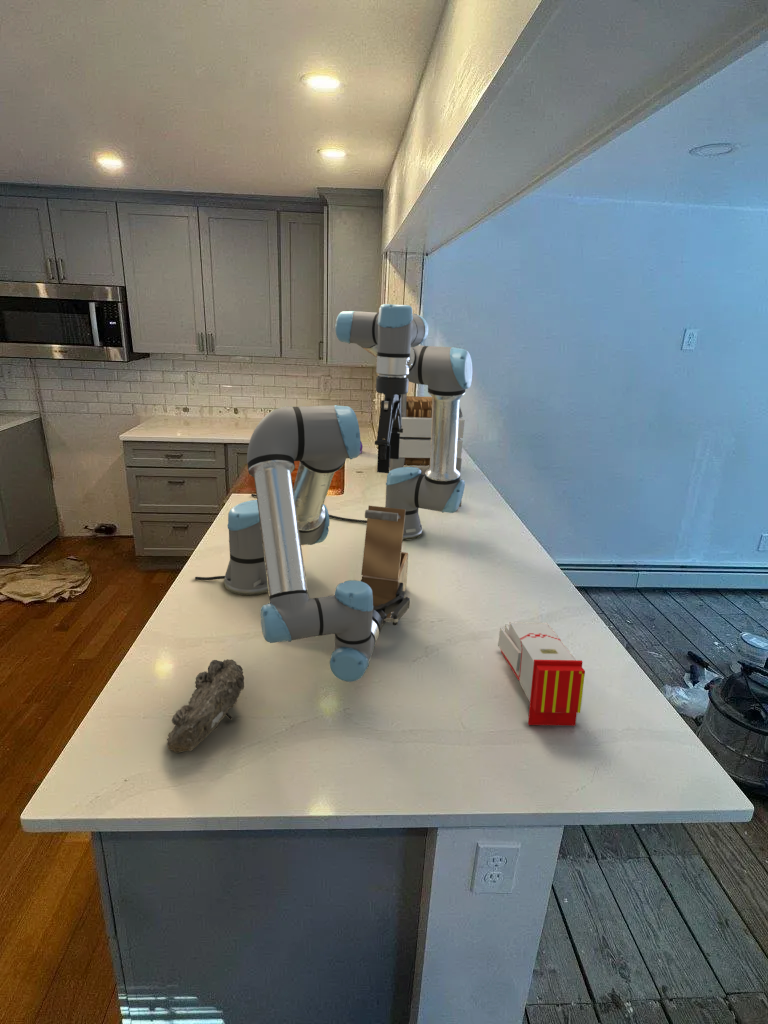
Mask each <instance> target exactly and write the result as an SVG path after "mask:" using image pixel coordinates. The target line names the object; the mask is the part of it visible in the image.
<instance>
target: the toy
mask: <svg viewBox="0 0 768 1024" xmlns="http://www.w3.org/2000/svg"><path fill="white" fill-rule="evenodd" d="M498 636H499V637H498V642H497V646H498V647H499V649H500V653H501V654H502V656H503V657H504V659H505V661H506V663H507V664H508V665H509V667H510V669H511V671H512V672H513V674H514V676H515V677H516V679H517V680H518V681H519V684H520V686H521V688H522V690H523V692H524V694H525V696H526V698H527V700H528V701H529V710H528V719H527V724H528V726H573V727H575V726H576V724H577V723H576V722H577V715H578V714H581V710H582V709H581V708H582V701H583V692H584V683H585V674H586V670H585V669H584V668H583V662H584V661H583V660H581V659H580V660H578V659H576V657H575V656H574V655H573V654H572V653H571V651H570V650H569V648H568V647H567V645H565V644H564V642H563V641H562V640H561V638H560V637H559V636H558V635H557V633H556V631H555V630H554V629H553V628H552V627H551V626H550V624H549V622H527V621H526V622H525V621H523V622H521V621H509V624H504V628H503V627H500V628H499V634H498Z"/></svg>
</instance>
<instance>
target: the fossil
mask: <svg viewBox="0 0 768 1024" xmlns="http://www.w3.org/2000/svg"><path fill="white" fill-rule="evenodd" d="M243 670H244V669H243V667H242V665H240V664H237V662H236V661H235V660H234V659H232V658H231V659H227V658H226V659H224V660H223V661H222V660H217V659H212V660H211V661H210V663H209V665H208V666H207V671H201V672H199V673H198V674H197V675H196V676H195V680H194V684H195V685H194V687H195V689H194V690H193V693H192V694H191V697H190V698H189V700H188V704H184V705H182V706H181V707H180V709H177V710H176V711H175V713H174V715H173V716H172V718H171V723H172V724H173V727H172V730H171V731H170V732H168V734H167V738H166V741H167V742H166V745H167V749H168V750H169V751H173V752H174V753H176V754H178V753H182V752H188V751H189V752H192V751H193V750H195V748H196V747H197V746H199V744H200V743H201V742H203V741H204V740H205V739H206V738H207V737H208V736H209V735H210V734H211V733H212V732H214V730H215V729H217V727H218V726H219V724H220V722H221V721H222V720H223V719H224V718H225V716H226V717H227V719H229V720H233V717H232V715H230V714H229V710H230V709H231V708H234V706H235V704H236V703H237V702H238V699H239V697H240V695H241V693H242V691H243V690H245V689H244V688H245V675H244V671H243Z"/></svg>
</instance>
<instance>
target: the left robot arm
mask: <svg viewBox="0 0 768 1024" xmlns="http://www.w3.org/2000/svg"><path fill="white" fill-rule="evenodd" d="M360 441H361V430H360V425H359V421H358V416H357V414H356V412H355V411H354V409H353V408H352V407H350V406H349V405H337V404H334V405H305V406H303V405H302V406H301V405H299V406H289V405H288V406H287V405H286V406H281V407H277V408H275V409H273V410H272V411H269V412H268V413H267V414H266V415H265V416H263V417H262V419H260V421H259V423H258V424H257V425H256V427H255V428H254V430H253V432H252V433H251V437H250V439H249V443H248V447H247V452H246V462H247V473H248V475H250V476H251V477H252V478H253V479H254V487H255V494H256V496H257V497H256V499H251V500H247V501H242V502H240V503H238V504H235V505H234V506H233V507H231V508H230V510H229V512H228V514H227V530H228V545H229V562H228V564H227V568H226V572H225V574H224V575H217V576H216V575H215V576H195V577H194V580H195V581H214V580H224V588H225V589H226V590H227V591H228V592H230V593H233V594H236V595H240V596H241V595H242V596H256V595H257V596H258V595H263V594H266V593H267V594H268V600H269V603H266V604H263V605H261V607H260V612H259V614H260V626H261V627H260V628H261V633H262V636H263V637H262V638H263V639H264V640H265V642H267V643H268V644H269V643H270V644H274V643H283V642H288V643H291V642H292V641H296V640H297V641H298V640H303V639H308V638H315V637H321V636H329V635H334V649H333V651H332V653H331V655H330V660H329V668H330V671H331V673H332V674H333V676H334V677H335V678H337V679H338V680H340V681H342V682H347V683H353V682H357V681H359V680H360V679H362V678H363V676H364V675H365V673H366V671H367V669H368V668H369V665H370V661H371V658H372V655H373V653H374V650H375V646H376V644H377V641H378V639H379V636H380V633H381V631H382V628H383V626H384V624H386V623H387V622H388V623H392V626H397V625H398V624H399V620H400V619H401V618H402V617H403V616H404V615H405V613H406V612H407V611H408V610H409V609H410V604H411V598H410V597H407V596H406V590H405V591H403V583H401V582H400V585H399V587H398V590H397V593H396V598H394V599H392V600H390V601H389V602H387V603H385V604H380V605H379V606H373V594H372V589H371V588H370V586H369V585H368V584H366V583H364V582H362V578H361V580H356V579H353V580H352V579H349V580H345V581H343V582H340V583H338V584H337V585H336V587H335V591H334V595H333V594H332V595H325V596H318V597H309V593H308V585H307V579H306V578H307V576H306V570H305V563H304V556H303V549H302V546H313V545H316V544H321V543H323V542H324V541H325V540H327V537H328V534H329V531H330V529H329V527H330V517H329V515H330V514H329V511H328V508H327V506H326V505H325V501H326V498H327V495H328V492H329V489H330V487H331V484H332V480H333V478H334V475H335V473H336V472H338V471H339V470H341V469H342V468H343V467H344V465H345V463H346V460H347V459H349V460H353V459H356V458H358V457H359V455H360V454H361V453H360ZM359 453H360V454H359ZM295 462H298V463H299V464H298V468H297V472H296V475H295V480H294V484H293V478H292V473H293V472H294V470H295V469H296V465H295ZM389 613H391V614H390V615H389V616H387V615H388V614H389Z"/></svg>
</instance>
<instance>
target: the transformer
mask: <svg viewBox="0 0 768 1024" xmlns="http://www.w3.org/2000/svg"><path fill="white" fill-rule="evenodd" d="M407 394H408V393H407ZM407 394H403V395H402V397H401V421H402V429H403V433H400V445H399V459H390V465H389V472H390V471H391V470H393V469H397V468H402V467H405V466H406V467H417V466H418V467H430V450H431V423H432V396H415V395H414V396H413V395H412V396H411V395H407ZM464 429H465V419H464V418H463V411H462V408H461V406H460V407H459V423H458V440H457V456H456V469H457V470H458V471H459V472H460V475H461V472H462V461H463V460H462V453H463V442H464V441H463V440H462V439H463V438H464V431H465V430H464ZM391 433H392V432H391Z"/></svg>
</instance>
